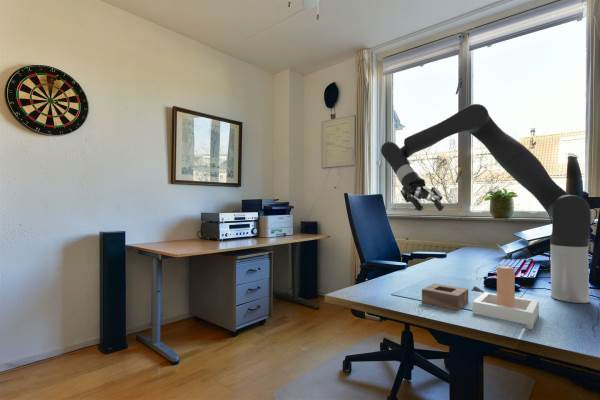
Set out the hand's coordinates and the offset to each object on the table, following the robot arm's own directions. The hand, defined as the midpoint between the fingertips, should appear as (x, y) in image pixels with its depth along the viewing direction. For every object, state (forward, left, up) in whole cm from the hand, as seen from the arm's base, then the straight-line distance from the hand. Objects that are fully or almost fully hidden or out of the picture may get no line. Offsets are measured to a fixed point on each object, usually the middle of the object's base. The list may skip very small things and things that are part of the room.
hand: (431, 209), depth 108 cm
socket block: (+11, +8, -29) cm, 32 cm away
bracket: (-6, +8, -30) cm, 31 cm away
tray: (+9, +23, -29) cm, 38 cm away
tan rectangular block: (+9, +23, -28) cm, 37 cm away
